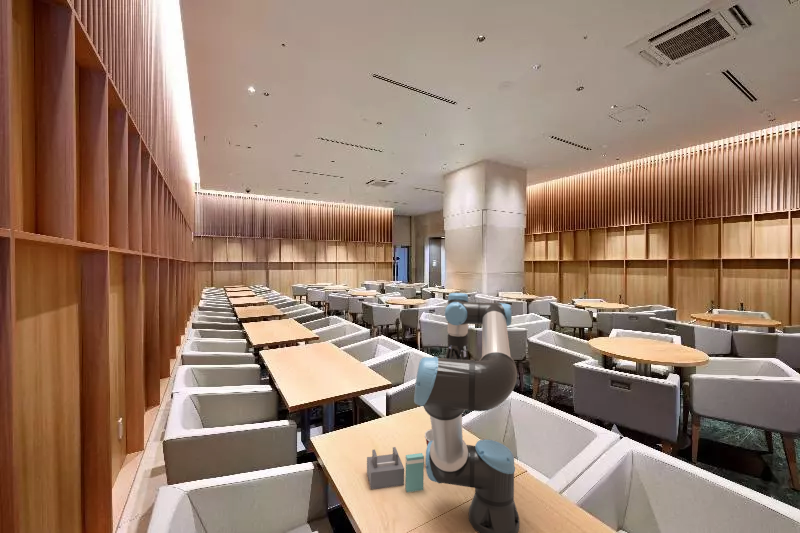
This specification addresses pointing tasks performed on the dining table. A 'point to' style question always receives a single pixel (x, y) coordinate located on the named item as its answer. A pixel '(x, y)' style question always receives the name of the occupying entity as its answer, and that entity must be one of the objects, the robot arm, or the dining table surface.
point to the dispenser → (385, 470)
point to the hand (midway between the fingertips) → (456, 390)
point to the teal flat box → (414, 472)
